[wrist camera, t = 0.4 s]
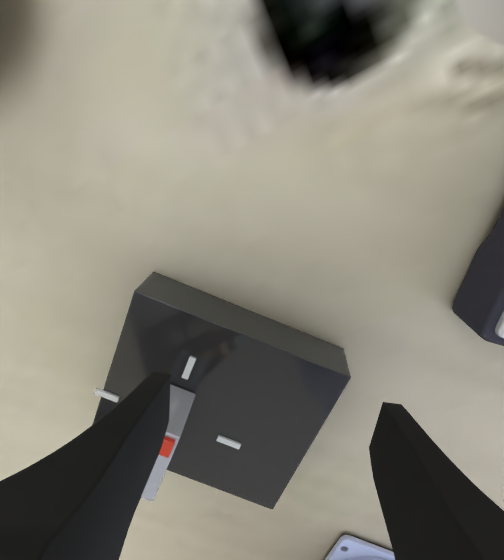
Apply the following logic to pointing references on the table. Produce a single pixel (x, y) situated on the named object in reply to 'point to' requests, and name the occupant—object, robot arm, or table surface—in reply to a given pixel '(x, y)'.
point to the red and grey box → (485, 289)
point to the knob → (169, 438)
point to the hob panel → (228, 385)
